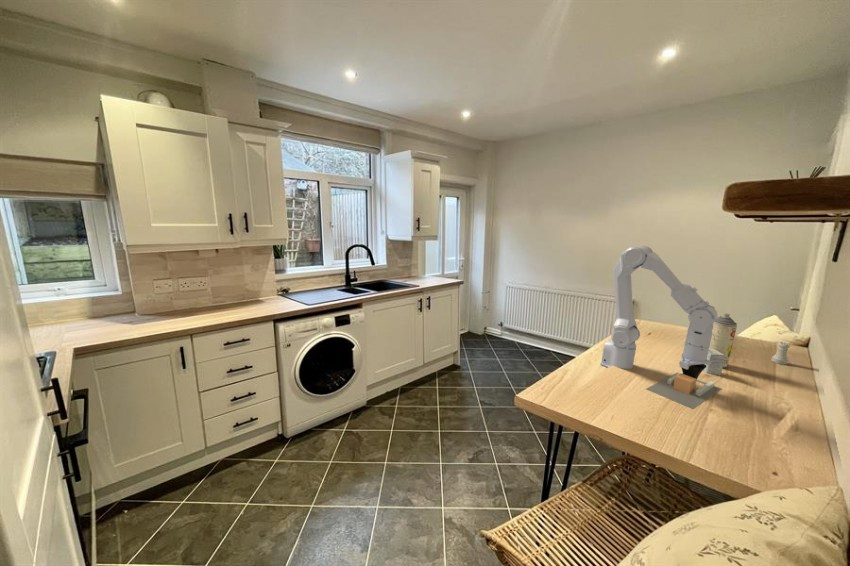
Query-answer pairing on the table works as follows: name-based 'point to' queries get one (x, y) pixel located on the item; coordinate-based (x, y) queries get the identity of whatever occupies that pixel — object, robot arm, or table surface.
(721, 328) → the aerosol can
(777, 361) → the rook chess piece
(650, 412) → the table surface
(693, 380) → the block
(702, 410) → the table surface
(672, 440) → the table surface
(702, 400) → the channel
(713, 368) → the medicine box
